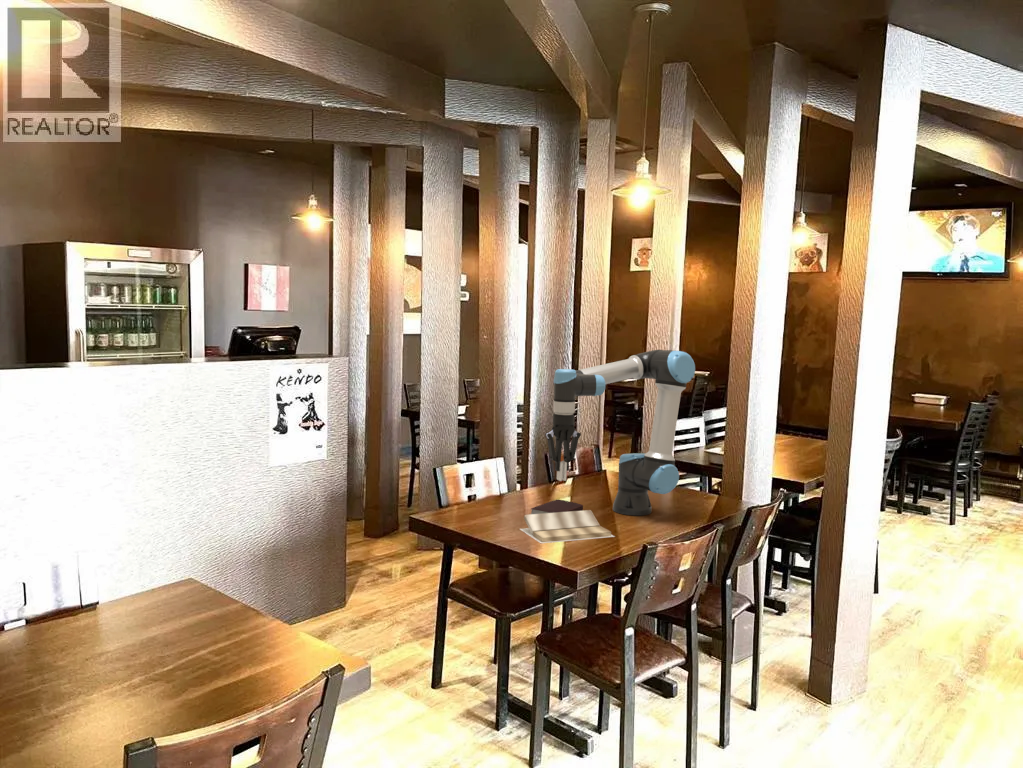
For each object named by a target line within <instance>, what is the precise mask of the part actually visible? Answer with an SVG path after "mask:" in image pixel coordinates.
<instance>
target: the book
mask: <svg viewBox="0 0 1023 768" xmlns="http://www.w3.org/2000/svg"><path fill="white" fill-rule="evenodd" d="M583 510H584V505H583V504H580V503H577V502H575V501H569V500H564V499H553V500H551V501H549V502H545V503H542V504H540V505H537V506H534V507H531V508H530V511H531V513H530V514H543V513H556V512H570V511H583Z"/></svg>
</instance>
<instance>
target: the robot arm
mask: <svg viewBox="0 0 1023 768" xmlns="http://www.w3.org/2000/svg"><path fill="white" fill-rule="evenodd" d="M695 374H696V364H695V362H694V359H693V358H692V356H691V355H690V354H689V353H687V352H686V351H681V350H665V349H654V350H649V351H645V352H640V353H637V354H633V355H631V356H629V357H628V358H627V359H622V360H617V361H614V362H613V361H612V362H609V363H604V364H600V365H595V366H590V367H586V368H581V369H578V370H575V369H571V368H570V369H568V368H558V369H556V370H555V372H554V377H553V406H552V407H553V410H552V411H553V414H552V427H551V431H549V432H545V434H544V435H545V438H546V440H547V447H548V452H549V459H550V460H552V461H554V471H556V480H557V481H559V482H562V481H565V482H566V481H567V471H569V469H570V468H569V467H570V463H571V461H573V460H575V457H576V452H577V448H578V442H579V439H580V438H581V435H582V433H581V432H579V431H577V430H576V428H575V416H576V415H574V413H576V412H575V411H576V397H597V396H602V395H603V394H604V393H605V390H606V386H607V385H608V384H611V383H612V384H613V383H618V382H621V381H625V380H630V379H634V380H636V381H637V380H640V379H651V380H655V381H654V385H655V386H656V388H657V396H656V403H655V408H654V415H653V416H654V417H653V421H652V427H651V428H652V429H651V436H650V443H649V449H648V451H647V452H645V453H642V452H641V453H640V452H639V453H637V452H636V453H633V452H632V453H631V452H630V453H623V454H621V455H620V456H619V461H618V483H617V484H618V485H617V487H618V488H617V493H616V496H615V498H614V501H613V504H612V511H613V512H615V513H617V514H621V515H626V516H647V515H650V514H651V513H652V504H651V500H650V496H649V492H652V493H654V494H661V495H666V494H669V493H671V492H672V491H673V490H674V489H675V488H676V487H677V485H678V484H679V479H680V472H679V471H678V468H677V467H676V465H675V463H676V459H675V457H674V456H673V450H674V442H675V435H676V429H677V422H678V415H679V408H680V402H681V395H682V394H681V393H682V392H683V391H685V390H686V389H687V383H689V382H691V381H692V379H694V376H695ZM571 437H572V438H571ZM554 438H555V440H554ZM562 447H563V448H562ZM562 450H563V460H562Z"/></svg>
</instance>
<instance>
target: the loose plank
mask: <svg viewBox="0 0 1023 768" xmlns="http://www.w3.org/2000/svg"><path fill="white" fill-rule="evenodd" d="M523 520H524V521H525V523H526V525H527V528H529V530H530V532H531V534H533V532H536V531H548V530H560V529H572V528H584V527H596V526H601V525H600V523H599V522H598V520H597V518H596V517H595V515H594V513H593V511H592V510H591V509H585V510H584V509H583V510H582V511H570V512H556V513H543V514H531V513H529V514H524V517H523Z"/></svg>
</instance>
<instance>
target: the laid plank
mask: <svg viewBox="0 0 1023 768" xmlns="http://www.w3.org/2000/svg"><path fill="white" fill-rule="evenodd" d="M611 535H612V531H611V530H609V529H607V528H606V527H604V526H601V525H600V526H596V527H584V528H572V529H560V530H548V531H536V532H533V536H534V537H535V538H537V539H538V540H540V541H541V542H551V541H562V540H573V539H584V538H595V537H606V536H611ZM606 538H607V537H606Z"/></svg>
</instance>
